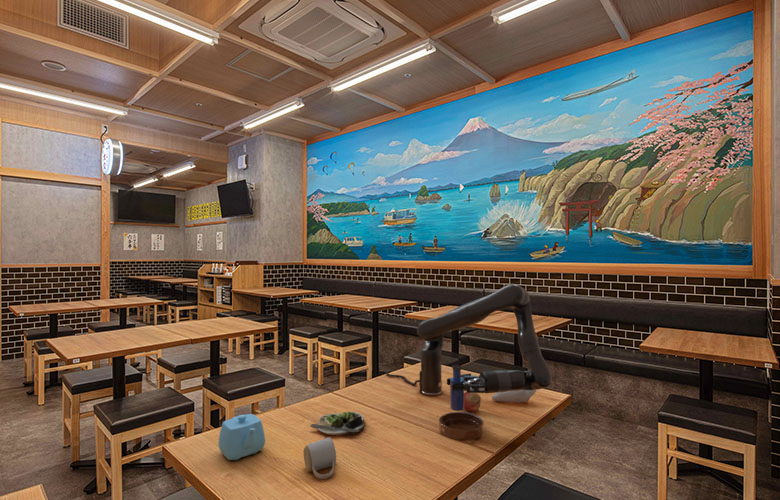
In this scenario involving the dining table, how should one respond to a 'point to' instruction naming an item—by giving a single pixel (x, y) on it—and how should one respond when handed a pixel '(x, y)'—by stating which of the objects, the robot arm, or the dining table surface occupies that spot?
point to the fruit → (471, 401)
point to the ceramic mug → (320, 457)
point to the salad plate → (340, 423)
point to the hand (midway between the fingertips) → (449, 384)
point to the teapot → (241, 436)
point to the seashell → (514, 396)
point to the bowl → (461, 426)
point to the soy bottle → (456, 395)
